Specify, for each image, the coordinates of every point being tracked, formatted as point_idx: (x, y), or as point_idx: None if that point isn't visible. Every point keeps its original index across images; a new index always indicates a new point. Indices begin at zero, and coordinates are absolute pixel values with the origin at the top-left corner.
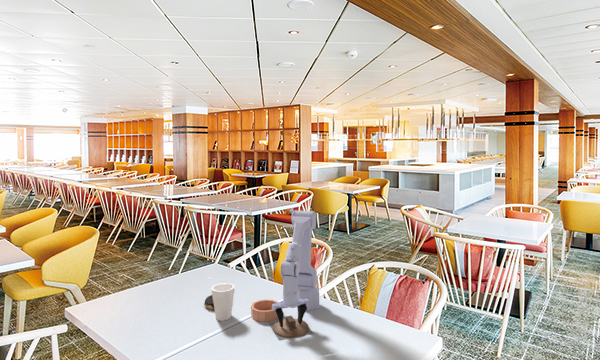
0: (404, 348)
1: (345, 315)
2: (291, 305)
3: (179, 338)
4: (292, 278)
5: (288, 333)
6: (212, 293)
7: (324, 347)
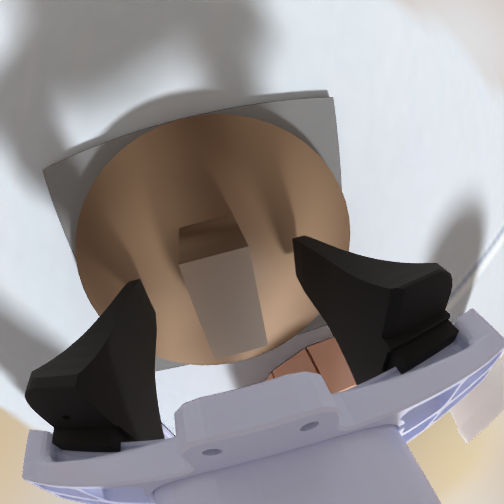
0: None
1: None
2: (312, 439)
3: None
4: None
5: (254, 152)
6: None
7: (28, 2)
